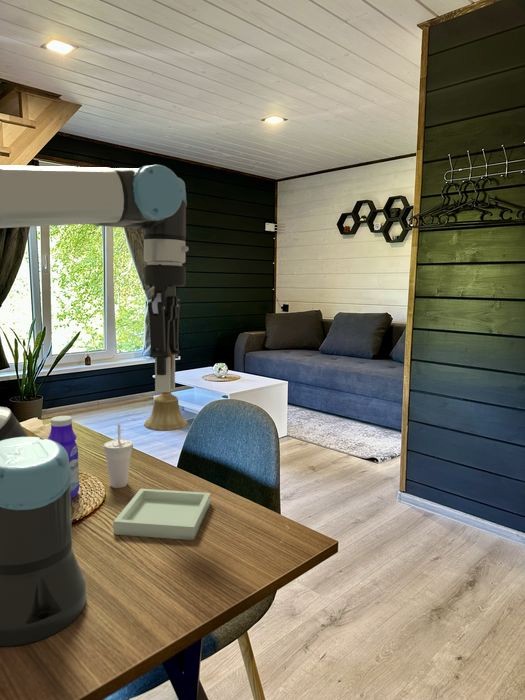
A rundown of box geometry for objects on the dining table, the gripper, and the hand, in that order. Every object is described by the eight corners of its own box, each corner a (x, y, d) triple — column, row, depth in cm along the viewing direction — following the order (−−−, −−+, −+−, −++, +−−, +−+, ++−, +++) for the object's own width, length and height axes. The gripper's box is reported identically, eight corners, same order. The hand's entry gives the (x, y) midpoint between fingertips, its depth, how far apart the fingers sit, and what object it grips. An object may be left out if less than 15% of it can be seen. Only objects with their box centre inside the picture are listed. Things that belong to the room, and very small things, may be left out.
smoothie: (137, 480, 118) (136, 421, 116) (127, 491, 112) (126, 429, 110) (110, 478, 119) (109, 420, 117) (99, 489, 112) (98, 428, 110)
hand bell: (178, 432, 92) (179, 346, 90) (136, 429, 94) (135, 344, 92) (193, 421, 100) (194, 341, 98) (154, 418, 102) (154, 339, 100)
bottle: (70, 504, 104) (68, 422, 102) (43, 503, 105) (40, 422, 102) (83, 490, 112) (81, 413, 109) (58, 489, 112) (55, 412, 109)
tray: (193, 540, 91) (194, 527, 91) (113, 534, 93) (113, 521, 92) (210, 504, 106) (210, 492, 106) (140, 499, 108) (140, 488, 107)
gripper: (173, 263, 85) (173, 400, 88) (194, 266, 100) (194, 382, 103) (130, 262, 86) (131, 398, 89) (157, 265, 101) (158, 381, 104)
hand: (165, 389), depth 96 cm, fingers closed on hand bell, 2 cm apart
